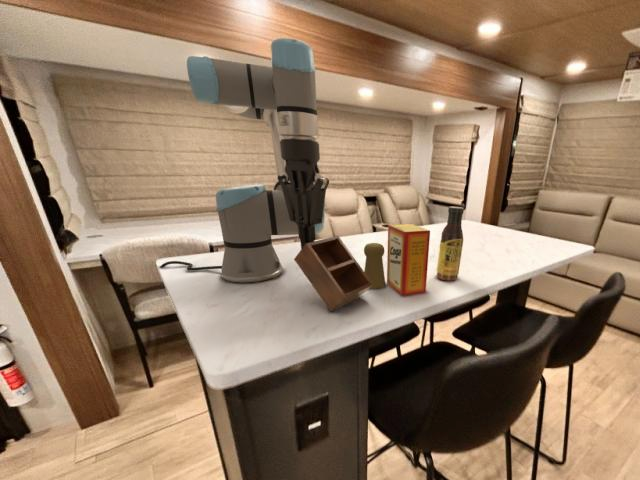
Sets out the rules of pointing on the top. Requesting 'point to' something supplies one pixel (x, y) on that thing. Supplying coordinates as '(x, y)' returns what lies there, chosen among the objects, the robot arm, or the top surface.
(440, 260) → the sauce bottle
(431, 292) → the top surface
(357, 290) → the walnut shelf
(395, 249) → the baking soda box
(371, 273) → the cork
